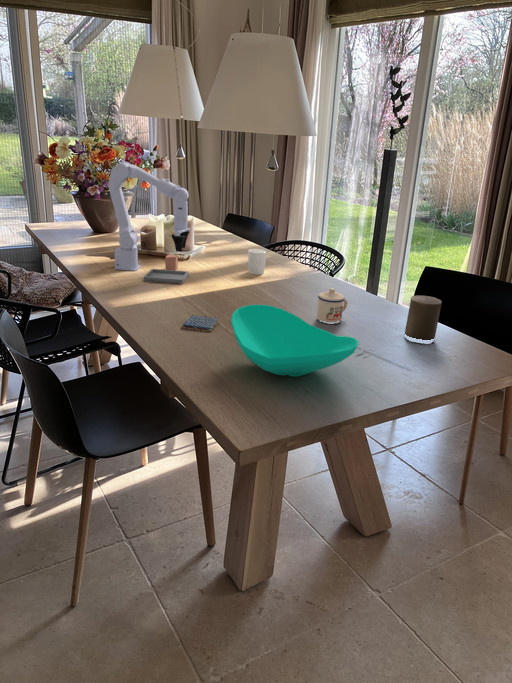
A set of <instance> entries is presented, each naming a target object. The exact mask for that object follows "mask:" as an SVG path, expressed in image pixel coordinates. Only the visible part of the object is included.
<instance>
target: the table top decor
mask: <svg viewBox="0 0 512 683" xmlns="http://www.w3.org/2000/svg"><path fill="white" fill-rule="evenodd" d="M231 326H232V329H233V333H234V336H235V340H236V341H237V343H238V345H239V347H240V348H241V351H242V353H244V356H246V358H247V359H248V360H249V361H250V362H252V363H254V364H255V365H256V366H258V367H259V368H260V369H262V370H263V371H267V372H269V373H272V374H274V375H278V376H284V377H285V375H289V376H288V377H300V376H304V375H308V374H310V373H314V372H318V371H319V370H320V371H321V370H323V369H327V368H329V367H332V366H334V365H337V364H338V363H339V364H340V363H341V362H343V361H344V360H346V359H347V358H349V357H350V356H352V355H353V354H354V353H356V351H357V348H358V344H360V343H359V341H358V340H357V338H356V337H352V336H348V335H347V336H346V335H345V336H343V335H336V334H333V333H332V332H330V331H327V330H324V329H322V328H319V327H316V326H314V325H311V324H310V323H308V322H306V321H305V320H303V319H302V318H301V317H298V316H297V315H296V314H293V313H291V312H289V311H287V310H284V309H283V308H279V307H276V306H272V305H268V304H250V305H245V306H241V307H239V308H237V309H235V311H234V312H233V313H232V314H231Z"/></svg>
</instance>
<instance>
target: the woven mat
mask: <svg viewBox="0 0 512 683" xmlns="http://www.w3.org/2000/svg"><path fill="white" fill-rule="evenodd" d="M219 320H220V319H219V318H216V317H214V318H213V317H211V316H209V317H208V316H202V315H201V316H199V315H193V314H192V315H190V316H189V317H187V319H186V320H185V321H184V322H183V324H182V326H181V328H182V329H186V328H187V329H186V330H193V329H194V330H195V331H200V330H202V331H201V332H210V331H211V332H212V331H213V330H214V329H215V328H216V327H217V326H218V324H219ZM189 327H190V328H189ZM211 332H210V333H211Z"/></svg>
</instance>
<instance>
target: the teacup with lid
mask: <svg viewBox="0 0 512 683" xmlns="http://www.w3.org/2000/svg"><path fill="white" fill-rule="evenodd" d="M317 297H318V301H317V302H318V303H317V312H316V319H317V318H318V319H319V320H322V321H326V322H337V321H340V320H341V321H342V317H343V313H344V312H345V311H346V309H347V306H348V300H347V299H346V298H345V296H344V295H343V294H341V293H339V292H337V291H336V289H335V288H333V287H330V288H329V289H328V290H326V291H323V292H320V293H319V294H318V296H317Z"/></svg>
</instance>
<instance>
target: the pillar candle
mask: <svg viewBox="0 0 512 683" xmlns="http://www.w3.org/2000/svg"><path fill="white" fill-rule="evenodd" d="M409 302H410V303H409V306H408V307H409V308H408V311H407V312H408V314H407V319H406V323H405V324H406V325H405V328H404V335H405V334H406V335H407V336H409V337H412V338H416V339H422V340H431V339H434V338H435V339H436V335H437V328H438V325H439V324H438V323H439V318H440V312H441V308H442V300H441V299H438V298H437V297H433V296H428V295H412V296H411V297H410V301H409Z"/></svg>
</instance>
